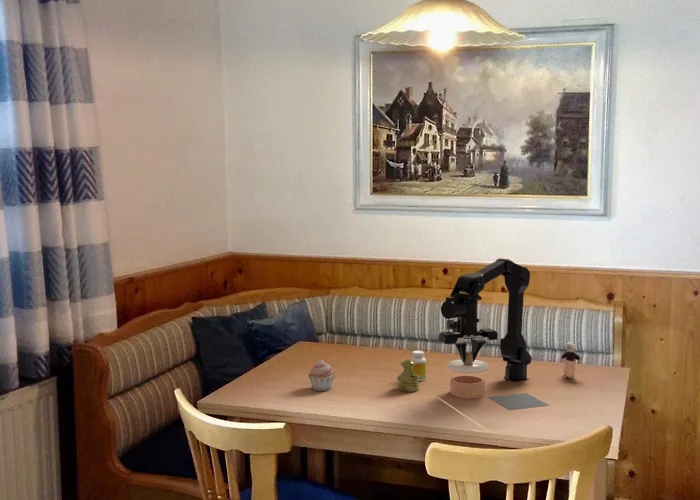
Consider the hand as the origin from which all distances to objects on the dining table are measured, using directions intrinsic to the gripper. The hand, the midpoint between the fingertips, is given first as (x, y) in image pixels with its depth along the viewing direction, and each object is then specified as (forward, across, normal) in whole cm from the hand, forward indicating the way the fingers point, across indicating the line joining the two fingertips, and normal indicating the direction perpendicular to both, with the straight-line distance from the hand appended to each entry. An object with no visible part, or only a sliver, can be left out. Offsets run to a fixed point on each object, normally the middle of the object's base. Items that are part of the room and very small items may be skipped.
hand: (468, 361), depth 254 cm
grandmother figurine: (+11, -43, -6) cm, 45 cm away
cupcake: (+11, +43, -22) cm, 50 cm away
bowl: (+11, 0, 0) cm, 11 cm away
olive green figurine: (+11, +16, -12) cm, 23 cm away
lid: (+2, 0, 0) cm, 2 cm away
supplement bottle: (+11, +8, -22) cm, 26 cm away
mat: (+11, -11, +13) cm, 20 cm away
